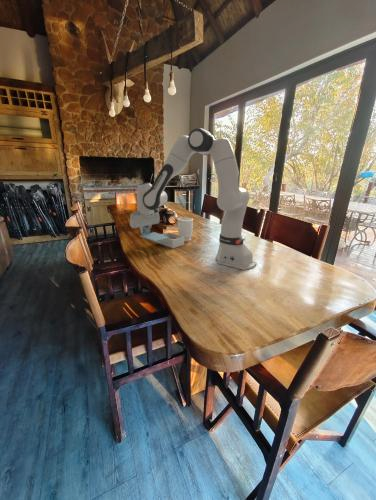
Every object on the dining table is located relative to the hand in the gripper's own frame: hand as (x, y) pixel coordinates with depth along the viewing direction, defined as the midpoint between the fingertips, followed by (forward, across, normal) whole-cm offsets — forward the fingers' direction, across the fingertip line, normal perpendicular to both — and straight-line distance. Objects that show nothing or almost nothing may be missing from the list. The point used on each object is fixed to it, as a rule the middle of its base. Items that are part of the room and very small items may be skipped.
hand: (145, 232), depth 148 cm
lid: (+2, 0, -7) cm, 7 cm away
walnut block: (+8, +13, -12) cm, 20 cm away
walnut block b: (+8, +13, -7) cm, 17 cm away
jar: (+9, +27, -8) cm, 30 cm away
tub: (+9, +13, -10) cm, 18 cm away
